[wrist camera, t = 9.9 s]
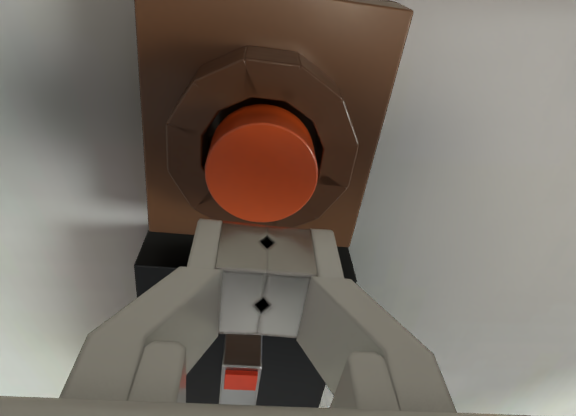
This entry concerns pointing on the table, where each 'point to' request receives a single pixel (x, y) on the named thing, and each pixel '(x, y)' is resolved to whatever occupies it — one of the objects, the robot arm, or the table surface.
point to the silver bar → (241, 369)
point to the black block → (207, 371)
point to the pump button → (261, 164)
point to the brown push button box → (264, 95)
